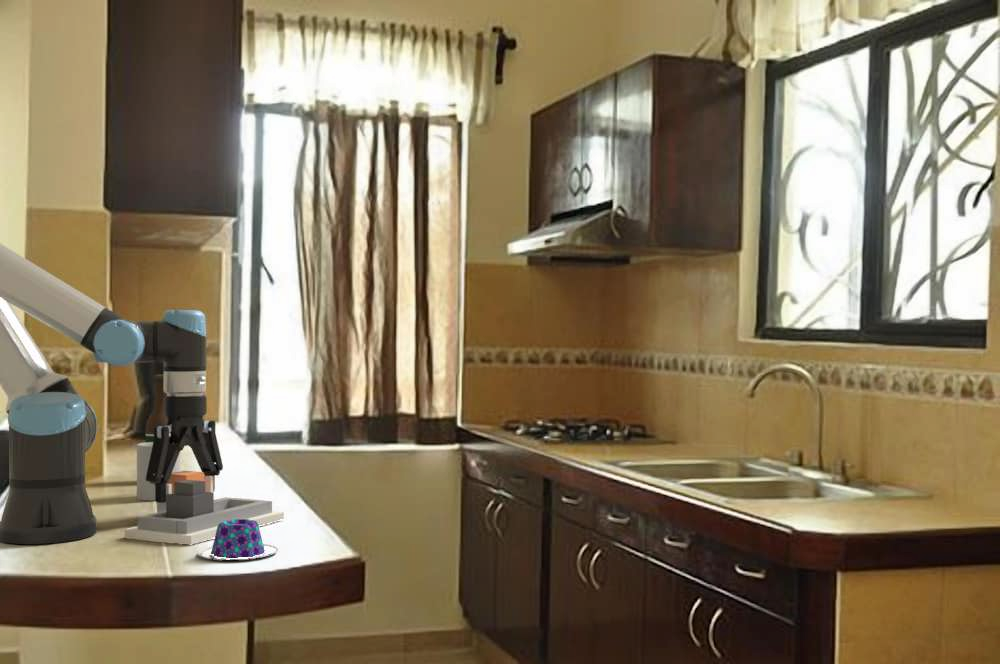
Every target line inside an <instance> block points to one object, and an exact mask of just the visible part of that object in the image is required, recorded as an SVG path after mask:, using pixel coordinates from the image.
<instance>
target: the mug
mask: <svg viewBox="0 0 1000 664" xmlns="http://www.w3.org/2000/svg"><path fill="white" fill-rule="evenodd" d="M173 444H174V443H173ZM152 447H153V442H147V443H146V442H141V443H138V444H137V445H136V498H137V500H138V501H145V502H156V500H155V484H152V483H150V482H148V481H146V474H147V470H148V465H149V460H150V456H151V451H152ZM180 471H181V452H180V453H179V456H178V458H177V461H176V463H175V466H174V468H173V471H172V473H174V472H180ZM153 475H155V474H153ZM162 477H163V476H162Z"/></svg>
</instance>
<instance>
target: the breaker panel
mask: <svg viewBox="0 0 1000 664" xmlns="http://www.w3.org/2000/svg"><path fill="white" fill-rule="evenodd" d="M284 514H285V513H284V512H283V511H274V510H273V501H272V500H263V499H251V498H241V497H240V498H239V497H226V496H225V497H221V498H217V499H214V512H212V513H208V514H203V515H199V516H195V517H190V518H186V519H176V518H166V511H161V512H157V511H156V512H153V513H148V514H144V515H140V516H137V526H132V527H128V528H124V538H125V539H129V540H139V541H147V542H154V543H155V542H156V543H164V542H165V544H173V543H182V544H194V543H197V542H201V541H204V540H208V539H211V538H213V537H215V535H216V531H217V527H218V525H219V524H220V523H221V522H224V521H227V520H234V519H249V520H254V521H256V522H257V523H258V526H259V525H263V524H267V523H270V522H274V521H277V520H280V519H284V518H285V517H284V516H285V515H284ZM284 520H285V519H284ZM182 544H181V545H182Z"/></svg>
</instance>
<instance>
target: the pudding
mask: <svg viewBox="0 0 1000 664" xmlns="http://www.w3.org/2000/svg"><path fill="white" fill-rule="evenodd" d="M264 546H269V547H273V548H275V549H276V551H275V552H274V553H272V554H270V555H266V556H264V555H263V556H262V557H261V556H259V557H255V558H248V559H230V560H239V561H248V560H249V559H250V560H257V559H261V558H264V557H265V558H266V557H269V556H272V555H274V554H276V553H277V552H278V551H279V548H278V547H277V546H275V545H271V544H265V543H263V539H262V535H261V530H260V527H259V526H258V523H257V522H256V521H254V520H249V519H234V520H227V521H224V522H221V523H220V524H219V525H218V527H217V531H216V535H215V539H214V540H213V543H212V546H209V547H205V548H202V549H201V550H199V551H198V552H197V555H198V556H199V557H200V558H204V559H207V560H212V559H211V558H212V557H211V558H206V557H203V556H202V554H203V552H205V551H207V550H210V549H212V551H211V554H214V556H217V557H226V558H238V557H253V556H255V555H260V554H263V553H264V551H265V550H264ZM264 554H265V553H264ZM256 558H257V559H256ZM222 560H226V559H215V558H214V559H213V561H222Z"/></svg>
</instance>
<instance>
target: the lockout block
mask: <svg viewBox="0 0 1000 664" xmlns="http://www.w3.org/2000/svg"><path fill="white" fill-rule="evenodd" d="M183 480H195V481H204V472H202V471H193V470H180V472H174V473H171V476H170V478H169V481H168V483H167V484H172V493H174V482H178V481H183Z"/></svg>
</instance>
